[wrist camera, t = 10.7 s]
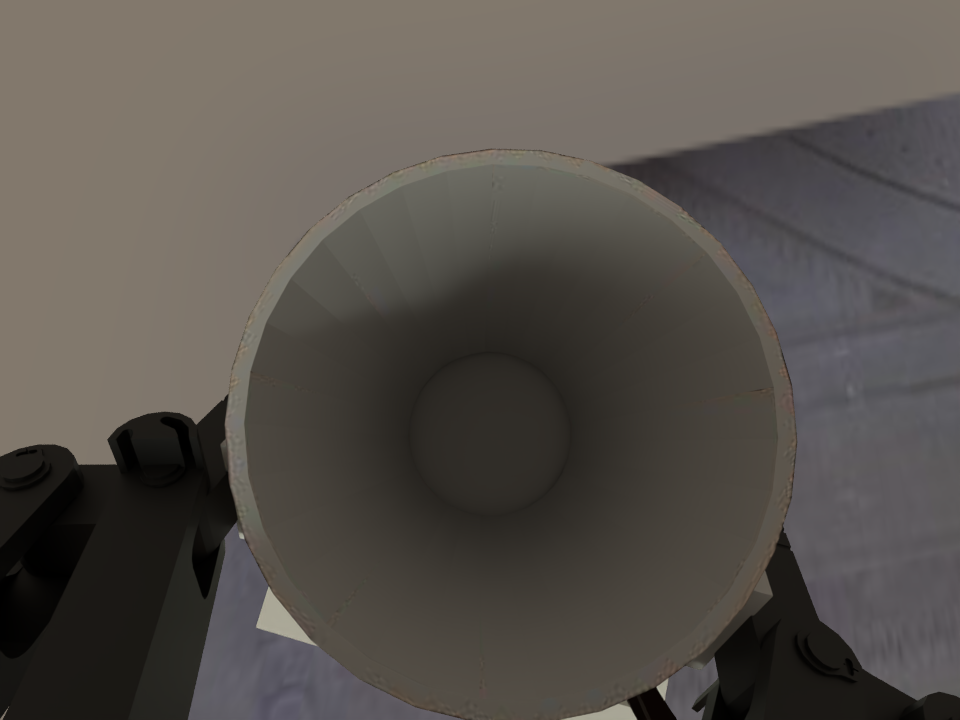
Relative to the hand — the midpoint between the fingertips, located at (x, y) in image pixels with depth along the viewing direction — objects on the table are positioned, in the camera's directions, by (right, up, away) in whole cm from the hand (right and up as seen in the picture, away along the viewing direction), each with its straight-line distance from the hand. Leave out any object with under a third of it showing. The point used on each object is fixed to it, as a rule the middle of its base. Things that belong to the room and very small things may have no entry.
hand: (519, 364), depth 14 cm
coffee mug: (-1, -4, +3) cm, 5 cm away
